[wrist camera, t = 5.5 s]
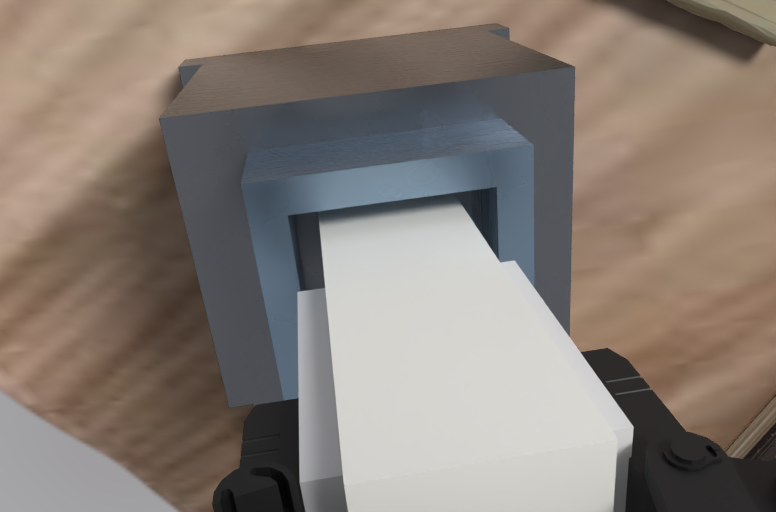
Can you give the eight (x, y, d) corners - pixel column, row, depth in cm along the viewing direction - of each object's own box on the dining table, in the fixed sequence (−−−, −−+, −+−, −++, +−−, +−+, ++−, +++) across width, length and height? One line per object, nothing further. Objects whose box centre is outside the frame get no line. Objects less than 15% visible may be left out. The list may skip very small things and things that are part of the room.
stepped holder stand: (185, 60, 29) (93, 151, 16) (496, 23, 31) (658, 80, 17) (276, 477, 40) (267, 750, 26) (507, 438, 41) (614, 682, 27)
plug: (317, 199, 20) (343, 485, 9) (446, 182, 21) (617, 439, 10) (337, 335, 22) (378, 697, 11) (455, 317, 23) (604, 655, 12)
